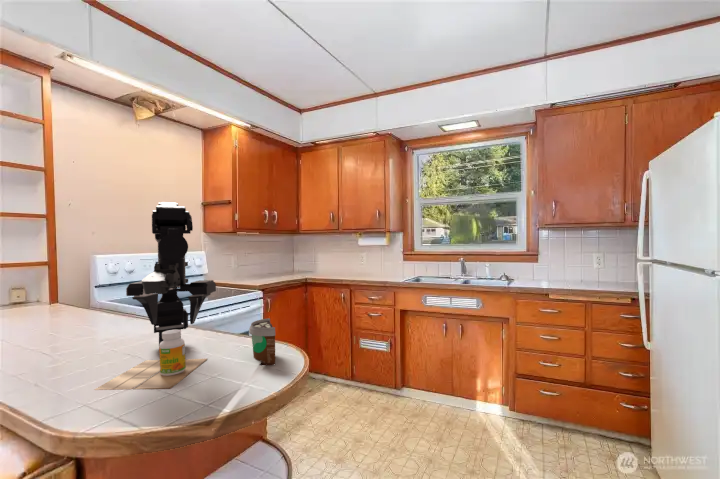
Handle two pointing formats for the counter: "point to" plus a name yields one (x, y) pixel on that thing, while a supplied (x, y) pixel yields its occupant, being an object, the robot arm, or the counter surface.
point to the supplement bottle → (172, 353)
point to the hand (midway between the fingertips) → (173, 324)
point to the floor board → (133, 376)
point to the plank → (170, 377)
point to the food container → (263, 341)
